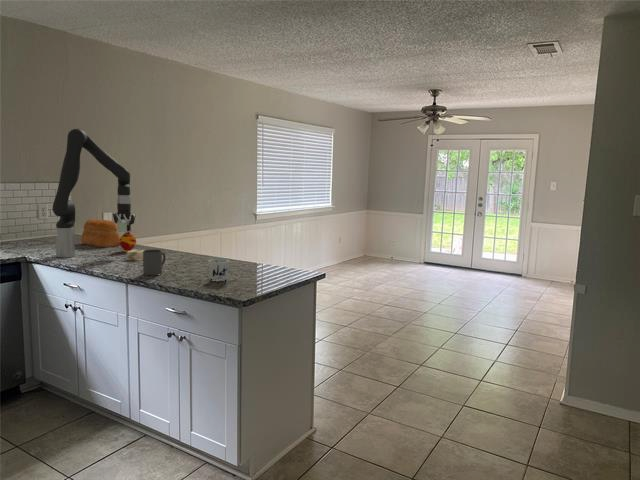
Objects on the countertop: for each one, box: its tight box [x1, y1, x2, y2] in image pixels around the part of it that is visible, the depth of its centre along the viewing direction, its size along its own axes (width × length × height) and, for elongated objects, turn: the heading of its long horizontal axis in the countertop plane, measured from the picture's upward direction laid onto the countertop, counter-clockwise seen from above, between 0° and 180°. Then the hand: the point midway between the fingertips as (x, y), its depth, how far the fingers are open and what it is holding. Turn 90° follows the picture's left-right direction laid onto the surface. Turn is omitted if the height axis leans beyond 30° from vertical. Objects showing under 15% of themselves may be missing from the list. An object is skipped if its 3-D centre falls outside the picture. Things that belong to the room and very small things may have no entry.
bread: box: [80, 218, 121, 248], centre depth 333 cm, size 16×26×17 cm, turn 57°
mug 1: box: [142, 249, 166, 276], centre depth 253 cm, size 14×9×12 cm
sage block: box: [117, 220, 131, 234], centre depth 294 cm, size 5×5×6 cm
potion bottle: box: [119, 229, 137, 253], centre depth 310 cm, size 10×10×15 cm
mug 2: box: [207, 258, 231, 280], centre depth 244 cm, size 10×15×10 cm
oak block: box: [126, 249, 145, 262], centre depth 289 cm, size 8×8×5 cm
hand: (124, 230), depth 295 cm, fingers closed on sage block, 5 cm apart
